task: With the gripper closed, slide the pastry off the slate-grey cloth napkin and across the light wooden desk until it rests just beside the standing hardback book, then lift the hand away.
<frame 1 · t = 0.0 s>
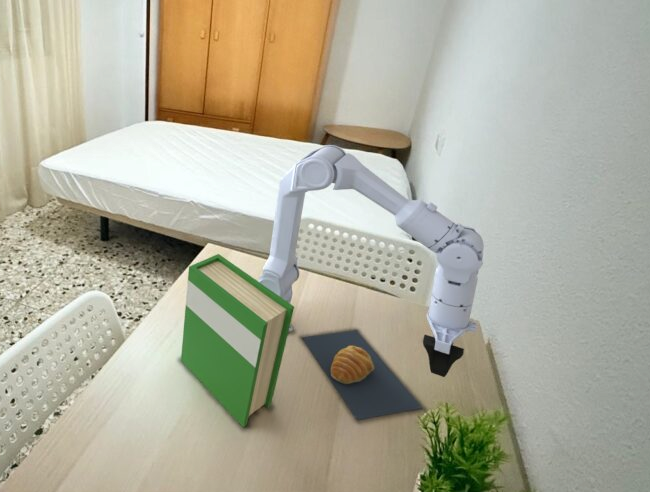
hand: (440, 360, 73), 11 cm above the table, tool pointing down, fingers open, 7 cm apart
hardback book: (223, 382, 80), on the table
napkin: (356, 370, 83), on the table
pastry: (350, 371, 83), resting on napkin
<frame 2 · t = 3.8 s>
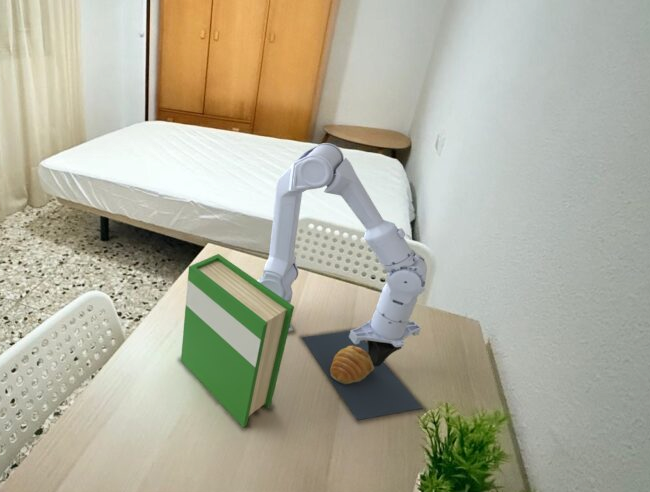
hand: (373, 362, 83), 2 cm above the table, tool pointing down, fingers closed
pastry: (350, 371, 83), resting on napkin, touching gripper
everything else where it was.
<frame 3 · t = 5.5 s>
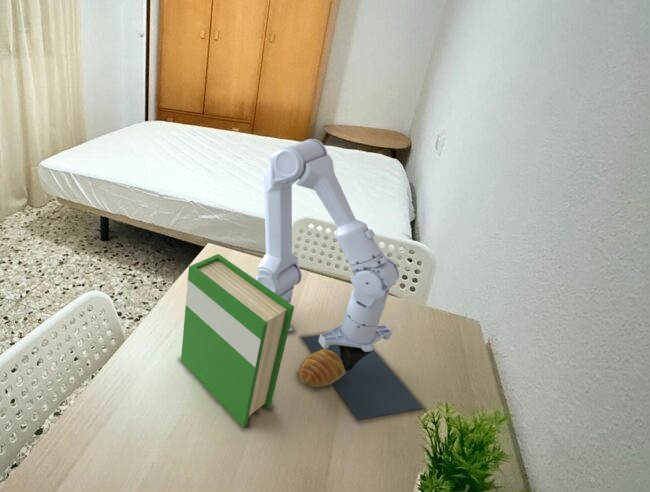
hand: (345, 366, 82), 2 cm above the table, tool pointing down, fingers closed
pastry: (321, 374, 82), on the table, touching gripper, napkin
everything else where it was.
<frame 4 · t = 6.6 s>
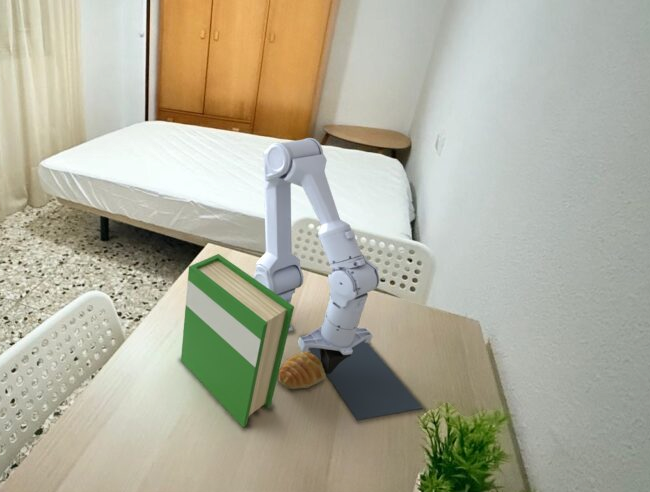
hand: (325, 369, 81), 2 cm above the table, tool pointing down, fingers closed
pastry: (300, 376, 81), on the table, touching gripper
everything else where it was.
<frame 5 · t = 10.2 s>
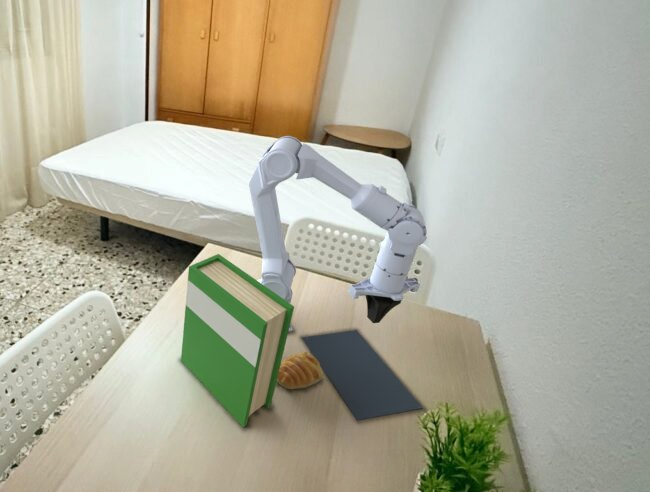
hand: (373, 319, 84), 9 cm above the table, tool pointing down, fingers closed
pastry: (298, 377, 81), on the table
everything else where it was.
at the end: pastry inside the target area (0.7 cm from its centre), on the table; pastry moved 11.4 cm from its start; hardback book moved 0.2 cm from its start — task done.
